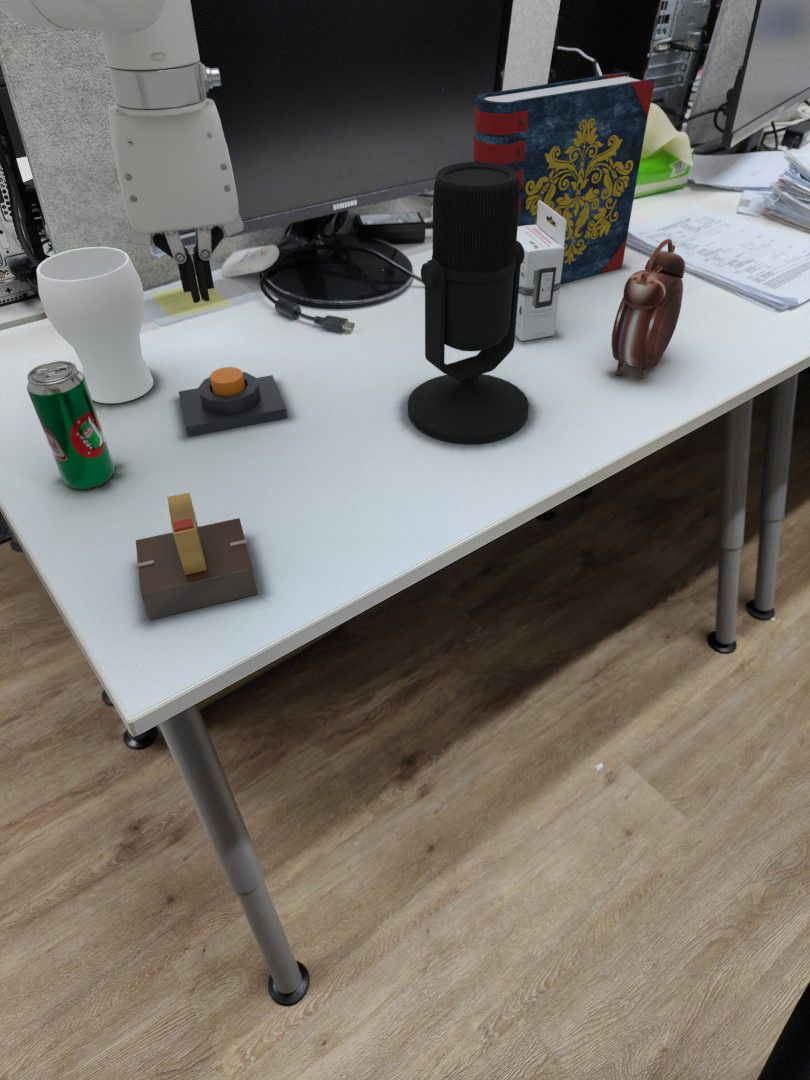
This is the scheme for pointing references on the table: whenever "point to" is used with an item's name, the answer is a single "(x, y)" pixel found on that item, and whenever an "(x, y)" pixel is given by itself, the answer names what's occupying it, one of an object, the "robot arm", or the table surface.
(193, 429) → the block
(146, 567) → the plate
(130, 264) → the cup
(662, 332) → the alarm clock
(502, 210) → the microphone
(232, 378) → the bell button
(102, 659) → the table surface
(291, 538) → the table surface
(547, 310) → the ink box
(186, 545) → the lock knob
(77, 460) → the soda can
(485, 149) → the book
